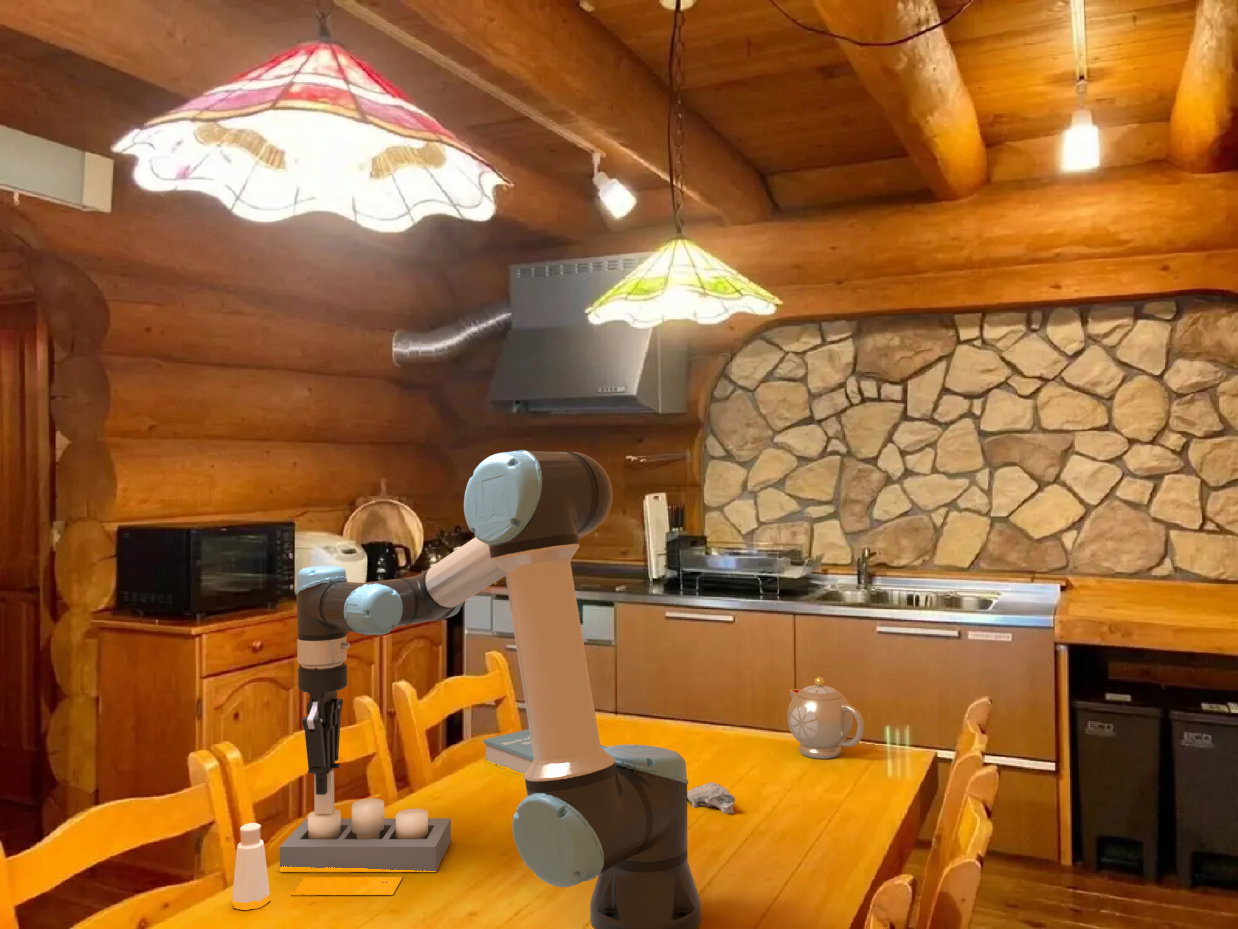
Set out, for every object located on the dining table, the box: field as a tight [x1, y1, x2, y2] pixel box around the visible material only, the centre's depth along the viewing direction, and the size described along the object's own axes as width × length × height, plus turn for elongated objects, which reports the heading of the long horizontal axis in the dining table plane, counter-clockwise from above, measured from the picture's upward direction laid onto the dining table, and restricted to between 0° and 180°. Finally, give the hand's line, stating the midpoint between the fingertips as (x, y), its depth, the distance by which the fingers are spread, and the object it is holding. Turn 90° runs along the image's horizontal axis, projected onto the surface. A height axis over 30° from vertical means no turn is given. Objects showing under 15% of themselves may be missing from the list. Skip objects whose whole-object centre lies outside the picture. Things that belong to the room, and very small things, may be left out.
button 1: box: [307, 808, 342, 839], centre depth 157 cm, size 5×5×6 cm
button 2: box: [395, 808, 429, 839], centre depth 157 cm, size 5×5×6 cm
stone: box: [687, 781, 736, 814], centre depth 179 cm, size 6×12×4 cm, turn 19°
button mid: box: [351, 797, 385, 839], centre depth 157 cm, size 5×5×6 cm
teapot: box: [786, 676, 865, 760], centre depth 209 cm, size 18×14×16 cm
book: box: [483, 728, 608, 774], centre depth 204 cm, size 23×16×5 cm
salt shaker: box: [232, 822, 271, 903], centre depth 141 cm, size 5×5×11 cm
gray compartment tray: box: [278, 817, 452, 872], centre depth 157 cm, size 12×24×4 cm, turn 89°
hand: (324, 812), depth 157 cm, fingers closed
